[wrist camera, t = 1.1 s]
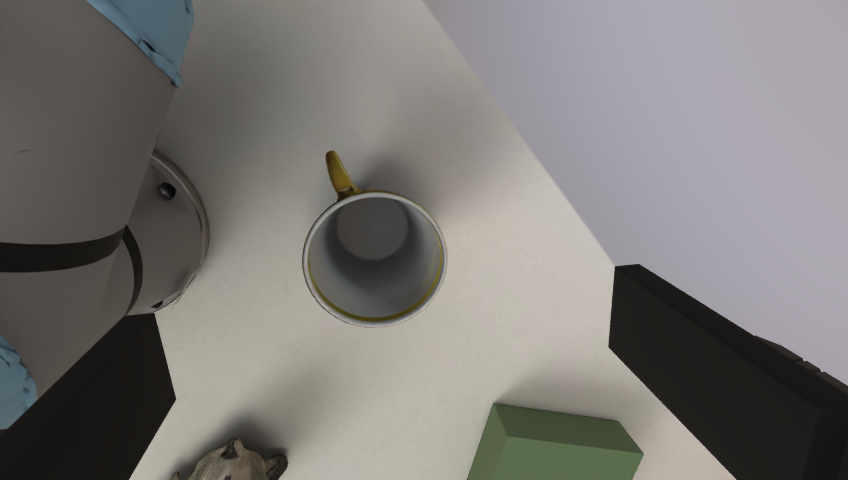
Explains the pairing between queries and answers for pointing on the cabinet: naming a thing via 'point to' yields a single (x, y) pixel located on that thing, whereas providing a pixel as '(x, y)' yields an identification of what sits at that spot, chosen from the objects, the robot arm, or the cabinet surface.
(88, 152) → the robot arm
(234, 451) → the decorative stone
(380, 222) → the ceramic cup
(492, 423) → the green block
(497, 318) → the cabinet surface
